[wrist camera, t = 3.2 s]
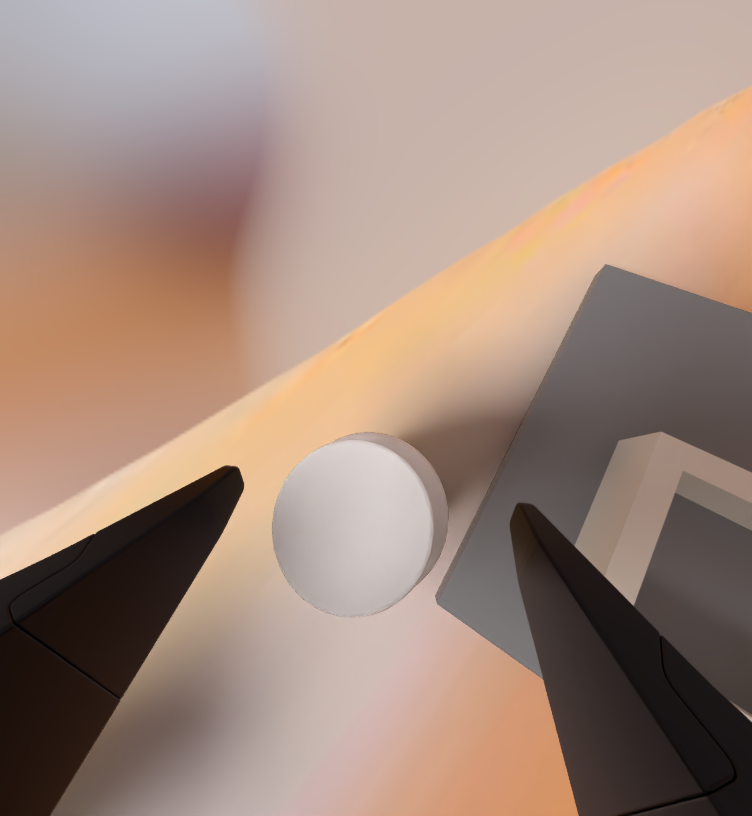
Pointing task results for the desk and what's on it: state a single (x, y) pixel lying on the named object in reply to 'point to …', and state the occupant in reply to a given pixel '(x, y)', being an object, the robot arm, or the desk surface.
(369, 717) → the desk surface
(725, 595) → the awning socket
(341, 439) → the supplement bottle
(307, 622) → the desk surface
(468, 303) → the desk surface
